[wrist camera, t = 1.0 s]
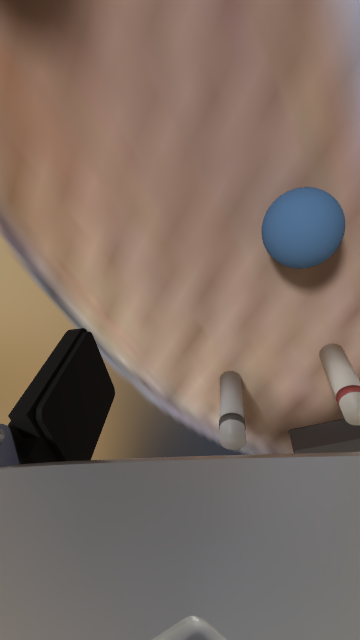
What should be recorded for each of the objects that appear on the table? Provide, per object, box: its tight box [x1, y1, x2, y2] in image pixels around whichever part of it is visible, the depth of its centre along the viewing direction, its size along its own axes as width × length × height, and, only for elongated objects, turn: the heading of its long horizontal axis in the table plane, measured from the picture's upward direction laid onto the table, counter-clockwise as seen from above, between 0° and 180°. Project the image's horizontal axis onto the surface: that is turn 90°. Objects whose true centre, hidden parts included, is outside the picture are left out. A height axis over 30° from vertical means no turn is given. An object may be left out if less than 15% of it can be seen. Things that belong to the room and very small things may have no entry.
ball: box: [262, 187, 345, 269], centre depth 26 cm, size 6×6×6 cm
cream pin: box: [319, 344, 360, 425], centre depth 32 cm, size 2×2×8 cm
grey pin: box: [219, 371, 246, 450], centre depth 35 cm, size 2×2×8 cm
